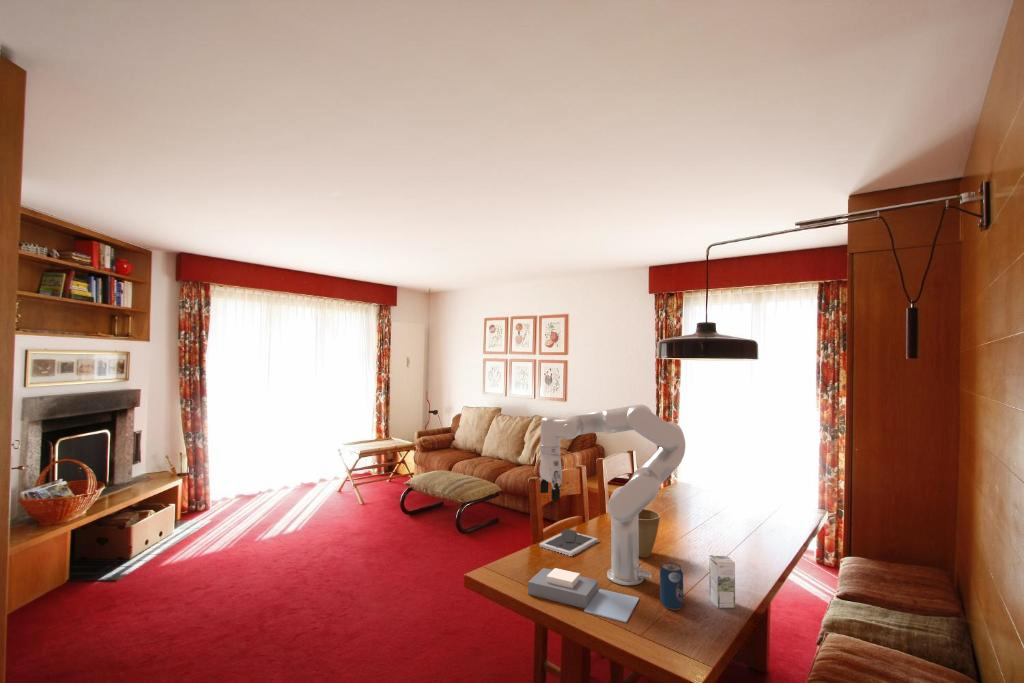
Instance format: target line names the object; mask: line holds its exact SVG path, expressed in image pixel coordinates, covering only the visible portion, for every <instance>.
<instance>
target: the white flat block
mask: <svg viewBox="0 0 1024 683" xmlns="http://www.w3.org/2000/svg"><path fill="white" fill-rule="evenodd" d="M551 570H552V571H551V572H550V573H549V574H548V575H547V582H548V583H552V584H556V585H560V586H564V587H569V588H573V587H574V586H575V585H576V584H577V582H578V581H579V580H580V576H581V573H580V572H574V571H569V570H565V569H562V568H556V567H554V568H553V569H551Z"/></svg>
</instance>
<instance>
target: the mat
mask: <svg viewBox="0 0 1024 683" xmlns="http://www.w3.org/2000/svg"><path fill="white" fill-rule="evenodd" d="M639 600H640V597H637V596H633V595H628V594H624V593H620V592H615V591H611V590H607V589H602V588H599V589H598V592H597V594H596V595H595V596H594V598H593V599H592V600H591V602H590V603H589V604H588V606H587V607H586V608H585V609H584V610H583V612H584V613H587V614H590V615H594V616H597V617H602V618H606V619H610V620H614V621H617V622H622V623H625V624H626V623H628V620H629V619H630V617H631V615H632V614H633V612H634V609H635V607H636V606H637V604H638V602H639Z"/></svg>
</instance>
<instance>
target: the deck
mask: <svg viewBox="0 0 1024 683" xmlns="http://www.w3.org/2000/svg"><path fill="white" fill-rule="evenodd" d="M552 570H553V569H549V568H546V567H545V568H544V567H543V568H542V569H540V570H539V572H537V573H536V574H535V575H534V576H533V577H532V578H530V580H528V581H527V583H528V584H527V586H528V589H527V590H528V592H527V593H528V595H530V596H535V597H538V598H542V599H545V600H546V599H547V600H549V601H554V602H558V603H562V604H565V605H570V606H573V607H577V608H582V609H584V610H585V608H586V607H587V606H588V604H589V603H590V602H591V600H592V599H593V598H594V596H595V595H596V594H597V592H598V591H599V579H594V578H589V577H585V576H581V575H580V580H579V581H578V582H577V584H576V585H575V586H574V587H573V588H569V587H564V586H560V585H556V584H552V583H548V582H547V575H548V574H549V573H550V572H551V571H552Z"/></svg>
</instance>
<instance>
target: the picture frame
mask: <svg viewBox="0 0 1024 683" xmlns="http://www.w3.org/2000/svg"><path fill="white" fill-rule="evenodd" d="M598 542H599V538H597V537H594V536H590V535H587V534H582V533H578V532H577V531H576V530H573V529H569V528H565V529H563V530H561V531H560V533H558V534H556V535H554V536H552V537H550V538H549V539H546V540H544V541H542V542H540V543H539V544H538V545H539V546H540V547H539V546H538V547H539V548H541V547H543V548H542V549H544V548H546V549H545V550H548V549H550V550H549V551H551V550H553V551H552V552H554V551H556V552H555V553H557V552H559V553H558V554H560V553H562V554H561V555H564V554H565V555H564V556H567V555H568V556H567V557H570V556H572V557H574V556H576V555H577V554H579V553H581V552H582V550H583V551H585V550H586V549H588V548H590V547H591V545H592V546H594V545H596V544H597V543H598ZM589 546H590V547H589ZM575 554H576V555H575ZM573 555H574V556H573Z"/></svg>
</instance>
